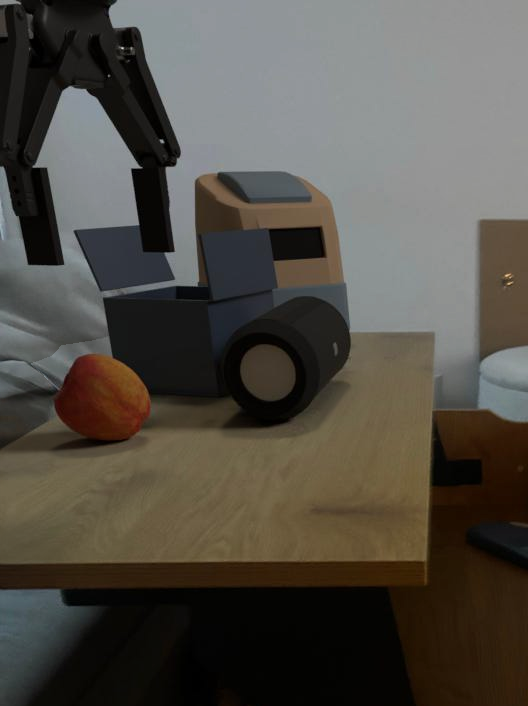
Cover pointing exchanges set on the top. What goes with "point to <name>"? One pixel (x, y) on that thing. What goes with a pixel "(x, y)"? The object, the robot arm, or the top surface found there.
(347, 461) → the top surface
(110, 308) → the carton
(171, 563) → the top surface
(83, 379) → the fruit
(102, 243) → the flap
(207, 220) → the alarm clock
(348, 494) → the top surface
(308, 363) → the portable speaker
